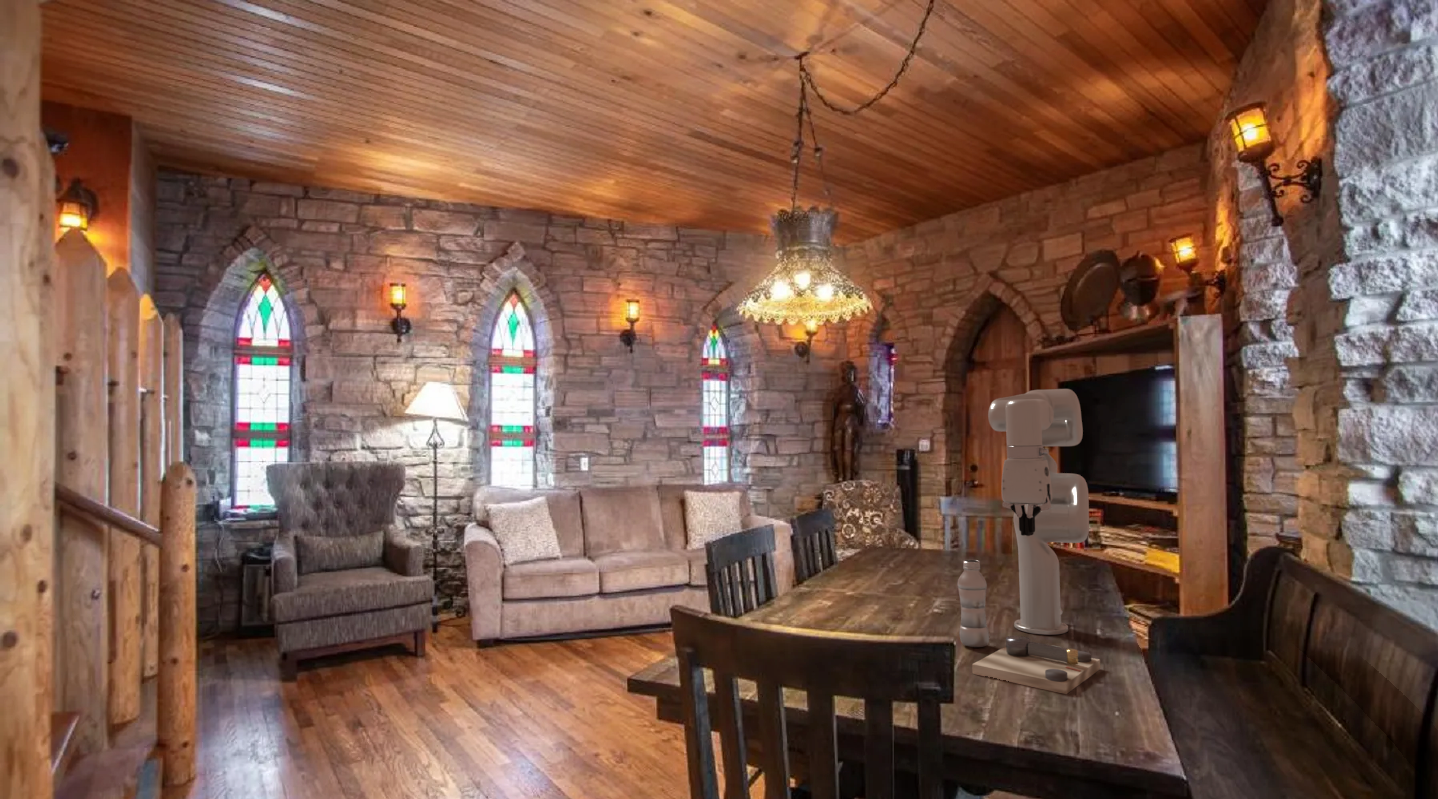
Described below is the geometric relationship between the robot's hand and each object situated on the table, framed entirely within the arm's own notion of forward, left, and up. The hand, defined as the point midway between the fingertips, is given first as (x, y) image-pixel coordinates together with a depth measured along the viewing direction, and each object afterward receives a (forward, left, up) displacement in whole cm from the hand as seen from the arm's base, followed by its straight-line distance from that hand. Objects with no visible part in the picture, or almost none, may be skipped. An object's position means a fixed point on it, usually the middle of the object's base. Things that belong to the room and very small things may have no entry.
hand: (1027, 534), depth 173 cm
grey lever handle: (+7, +5, -25) cm, 26 cm away
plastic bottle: (+1, -13, -27) cm, 30 cm away
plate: (+10, +5, -27) cm, 29 cm away
